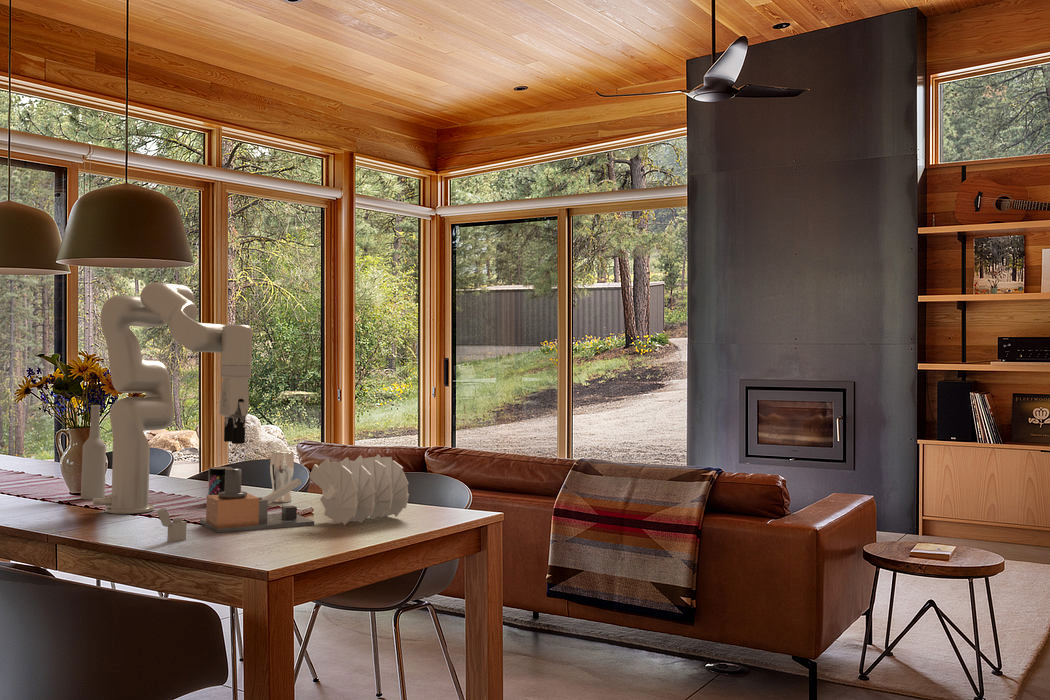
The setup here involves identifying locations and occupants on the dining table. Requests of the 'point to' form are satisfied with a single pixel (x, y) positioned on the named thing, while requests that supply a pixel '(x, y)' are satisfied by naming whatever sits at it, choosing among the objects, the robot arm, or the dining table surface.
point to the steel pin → (232, 485)
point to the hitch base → (262, 525)
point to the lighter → (173, 526)
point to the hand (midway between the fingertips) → (234, 441)
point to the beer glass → (281, 472)
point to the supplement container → (216, 480)
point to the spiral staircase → (361, 488)
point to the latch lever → (283, 490)
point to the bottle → (93, 460)
